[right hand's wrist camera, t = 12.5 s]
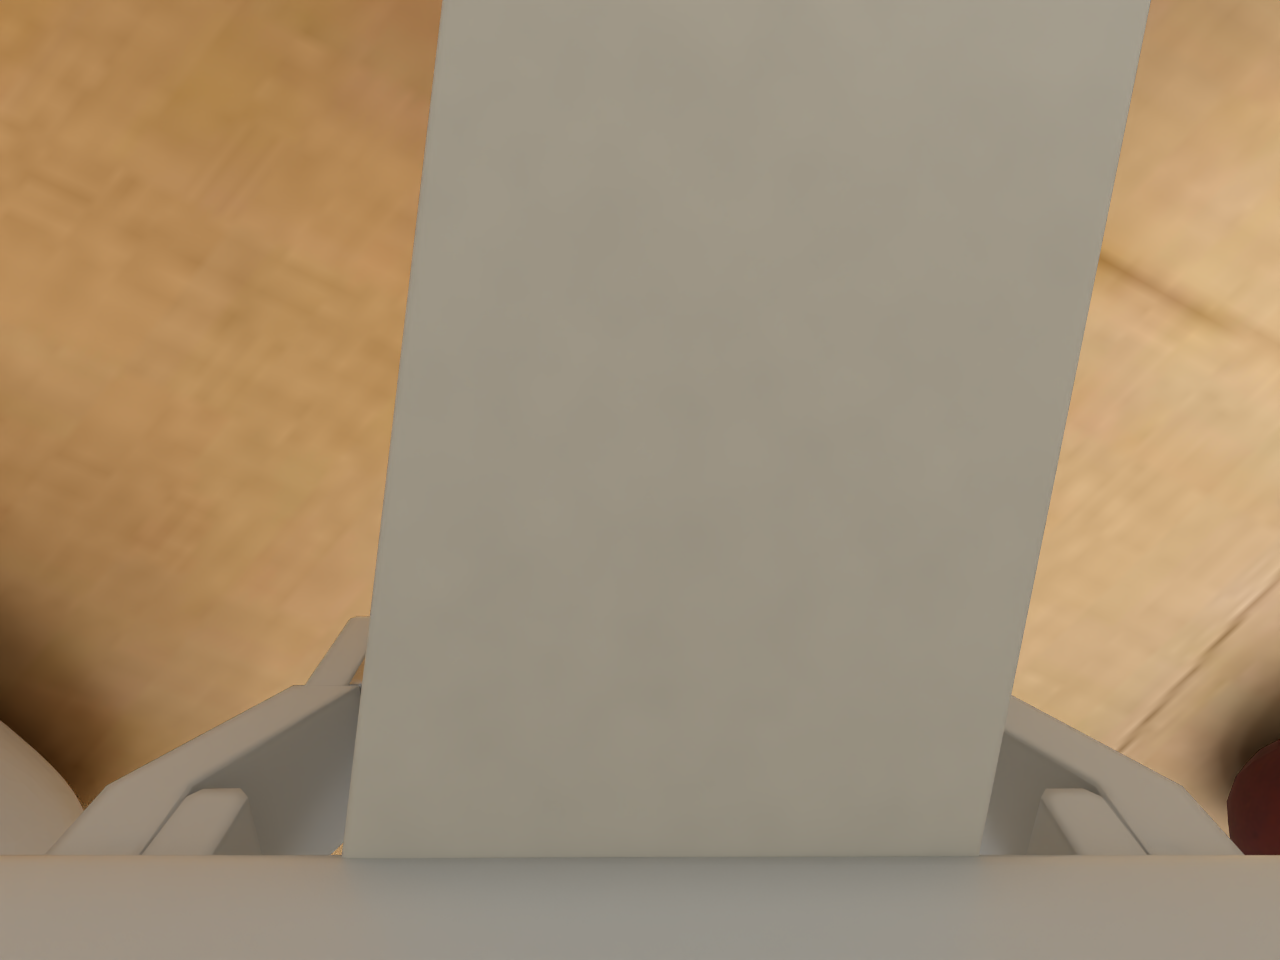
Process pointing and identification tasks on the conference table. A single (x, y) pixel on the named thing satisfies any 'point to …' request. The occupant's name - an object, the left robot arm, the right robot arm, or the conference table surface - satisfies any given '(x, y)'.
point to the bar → (729, 421)
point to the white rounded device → (31, 799)
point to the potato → (1257, 804)
